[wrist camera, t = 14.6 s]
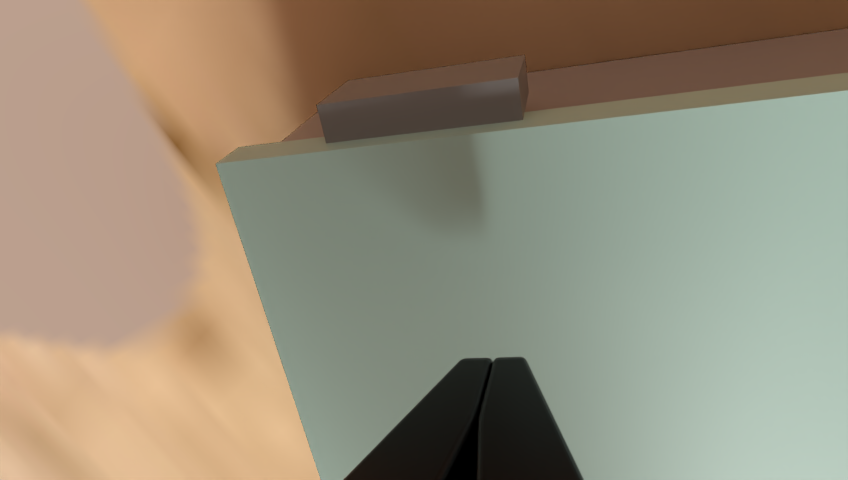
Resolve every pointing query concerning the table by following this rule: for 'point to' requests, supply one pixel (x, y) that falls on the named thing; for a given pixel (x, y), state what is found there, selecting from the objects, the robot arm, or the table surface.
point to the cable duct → (675, 73)
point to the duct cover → (566, 266)
